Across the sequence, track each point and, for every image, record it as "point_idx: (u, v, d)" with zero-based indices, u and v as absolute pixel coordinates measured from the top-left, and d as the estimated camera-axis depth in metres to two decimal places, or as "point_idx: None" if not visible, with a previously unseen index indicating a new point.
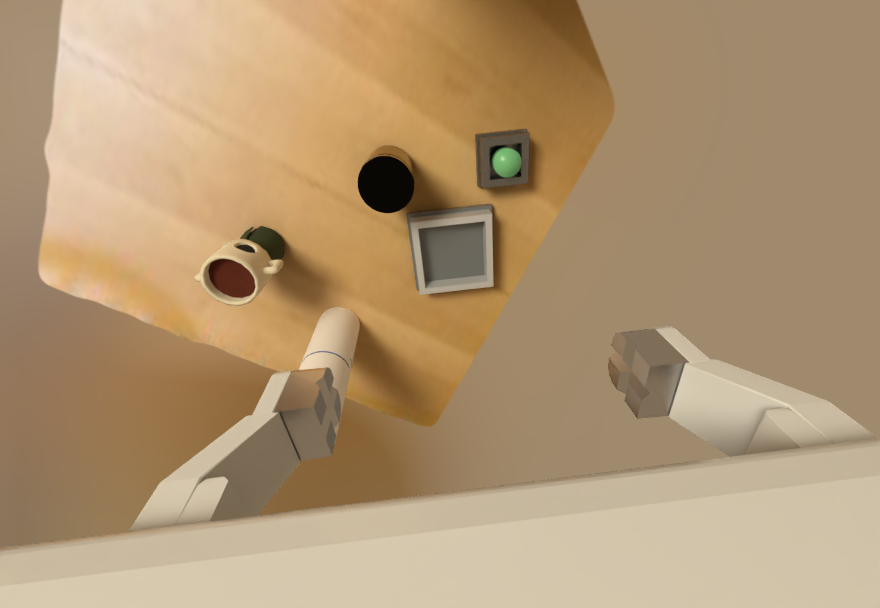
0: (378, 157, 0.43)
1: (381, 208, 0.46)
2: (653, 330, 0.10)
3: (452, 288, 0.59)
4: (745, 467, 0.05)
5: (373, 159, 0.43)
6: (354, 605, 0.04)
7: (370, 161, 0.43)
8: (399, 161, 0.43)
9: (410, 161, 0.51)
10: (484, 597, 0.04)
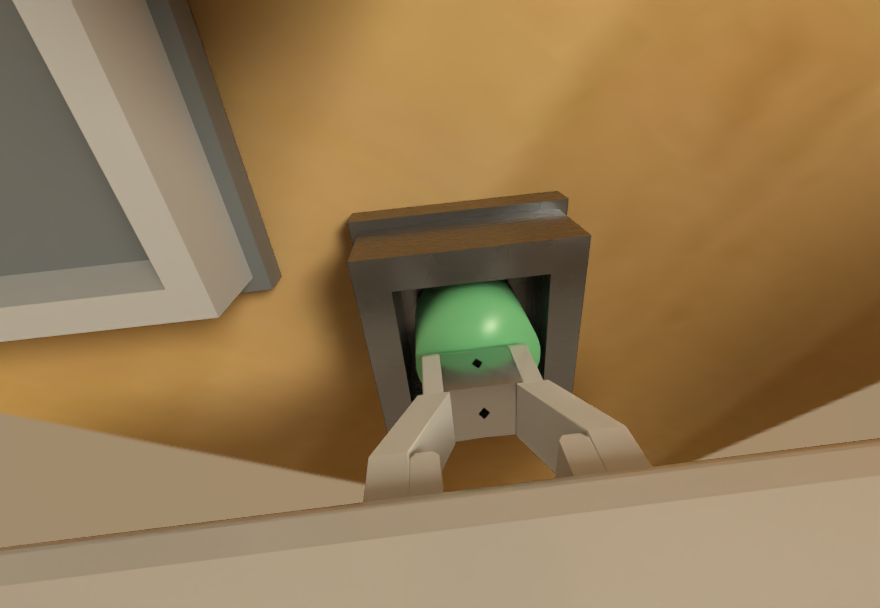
0: None
1: None
2: (505, 348, 0.10)
3: None
4: (745, 468, 0.05)
5: None
6: (354, 605, 0.04)
7: None
8: None
9: None
10: (484, 596, 0.04)
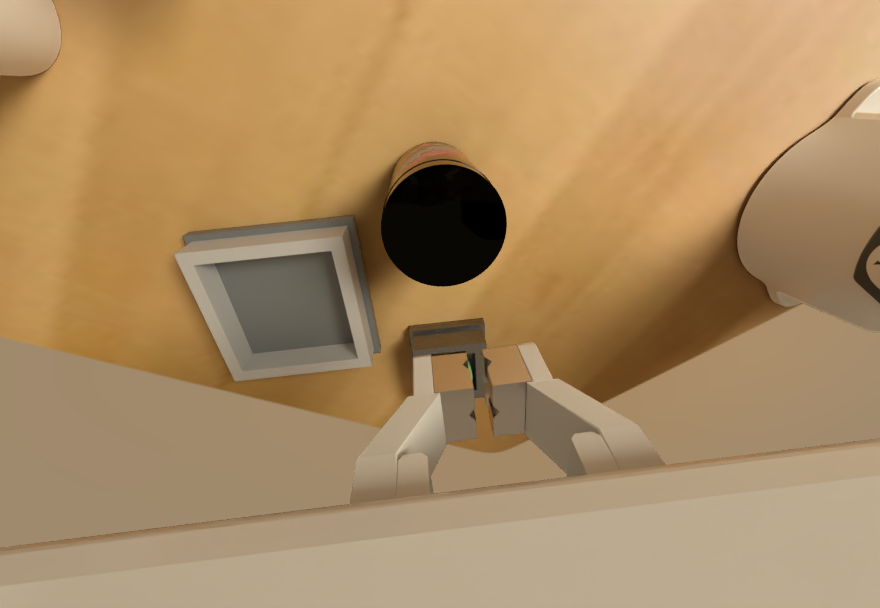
0: (503, 217, 0.20)
1: (391, 217, 0.19)
2: (514, 347, 0.10)
3: (210, 316, 0.29)
4: (745, 467, 0.05)
5: (501, 206, 0.19)
6: (354, 605, 0.04)
7: (497, 199, 0.19)
8: (491, 259, 0.21)
9: None
10: (484, 596, 0.04)
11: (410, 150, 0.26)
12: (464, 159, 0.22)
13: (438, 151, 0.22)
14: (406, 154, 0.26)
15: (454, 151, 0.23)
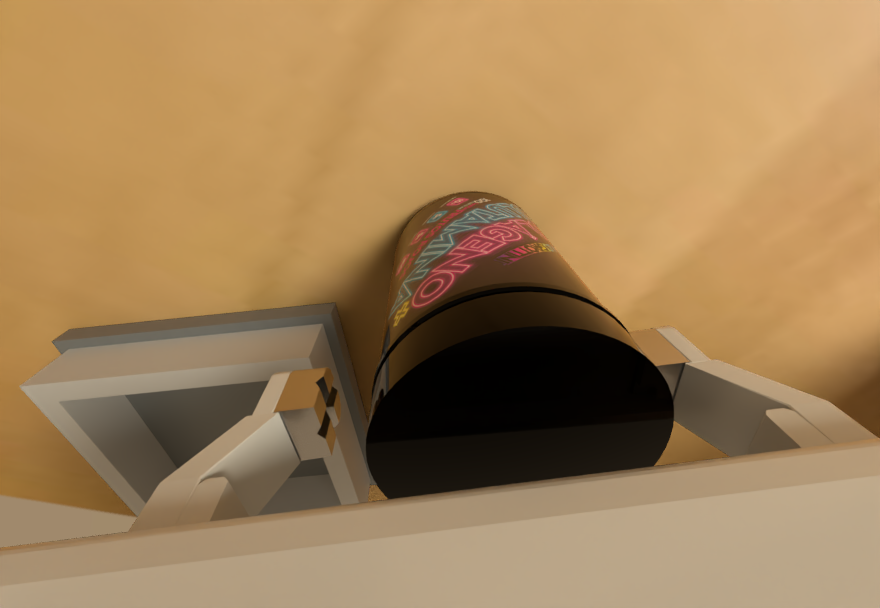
0: (667, 425, 0.08)
1: (391, 432, 0.08)
2: (653, 330, 0.10)
3: (102, 467, 0.18)
4: (745, 467, 0.05)
5: (666, 406, 0.08)
6: (354, 605, 0.04)
7: (661, 393, 0.07)
8: None
9: None
10: (484, 597, 0.04)
11: (430, 208, 0.14)
12: (550, 254, 0.10)
13: (492, 233, 0.11)
14: (423, 217, 0.14)
15: (519, 223, 0.12)
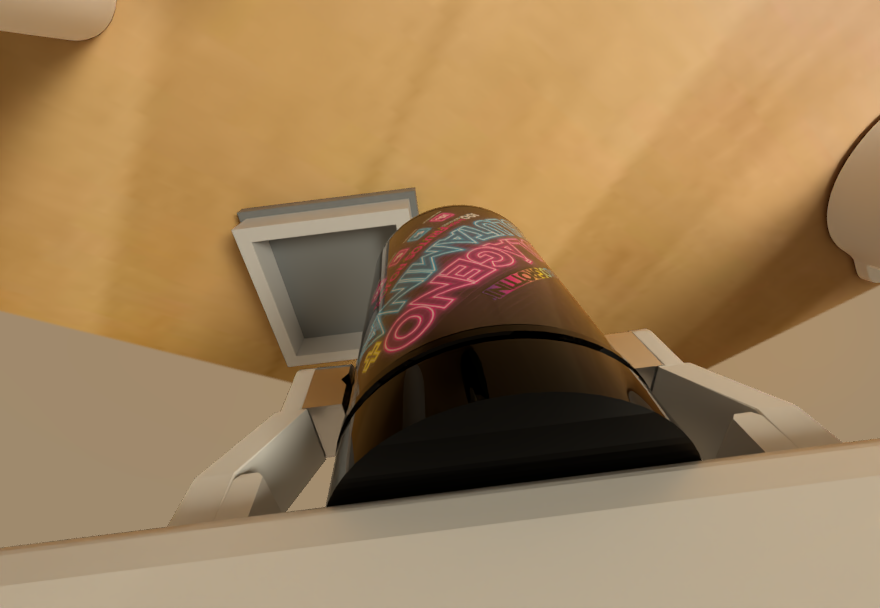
0: None
1: None
2: (630, 333, 0.10)
3: (266, 297, 0.27)
4: (745, 467, 0.05)
5: None
6: (354, 605, 0.04)
7: None
8: None
9: None
10: (485, 597, 0.04)
11: (412, 224, 0.13)
12: (548, 282, 0.09)
13: (481, 257, 0.09)
14: (404, 235, 0.12)
15: (511, 243, 0.10)
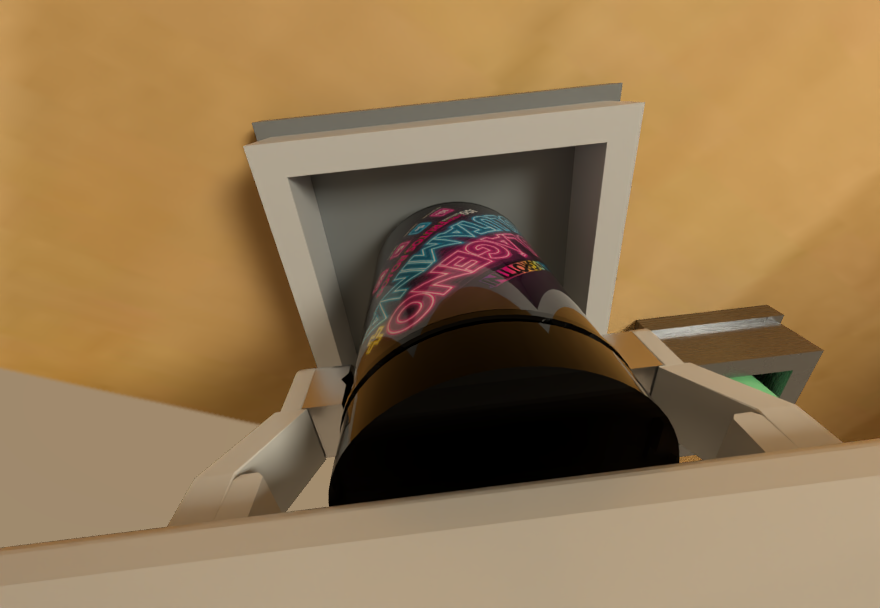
0: None
1: (358, 483, 0.07)
2: (630, 333, 0.10)
3: (308, 300, 0.14)
4: (745, 467, 0.05)
5: (671, 452, 0.07)
6: (354, 605, 0.04)
7: (666, 438, 0.07)
8: None
9: None
10: (484, 597, 0.04)
11: (412, 219, 0.13)
12: (541, 274, 0.09)
13: (478, 250, 0.10)
14: (405, 229, 0.13)
15: (507, 238, 0.11)
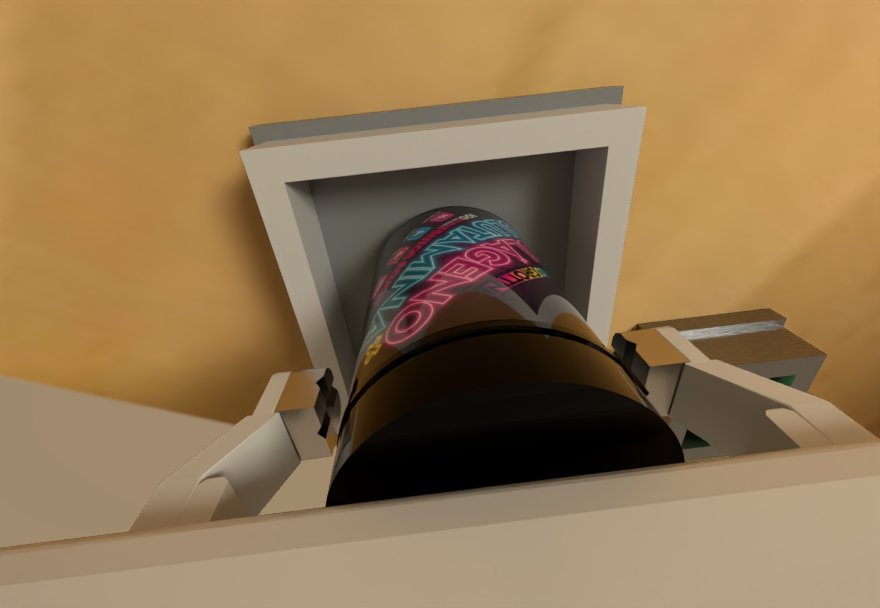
0: None
1: (355, 499, 0.06)
2: (653, 330, 0.10)
3: (306, 306, 0.13)
4: (745, 467, 0.05)
5: None
6: (354, 605, 0.04)
7: (672, 452, 0.06)
8: None
9: None
10: (485, 597, 0.04)
11: (412, 223, 0.13)
12: (542, 281, 0.09)
13: (478, 256, 0.09)
14: (404, 234, 0.13)
15: (508, 243, 0.11)
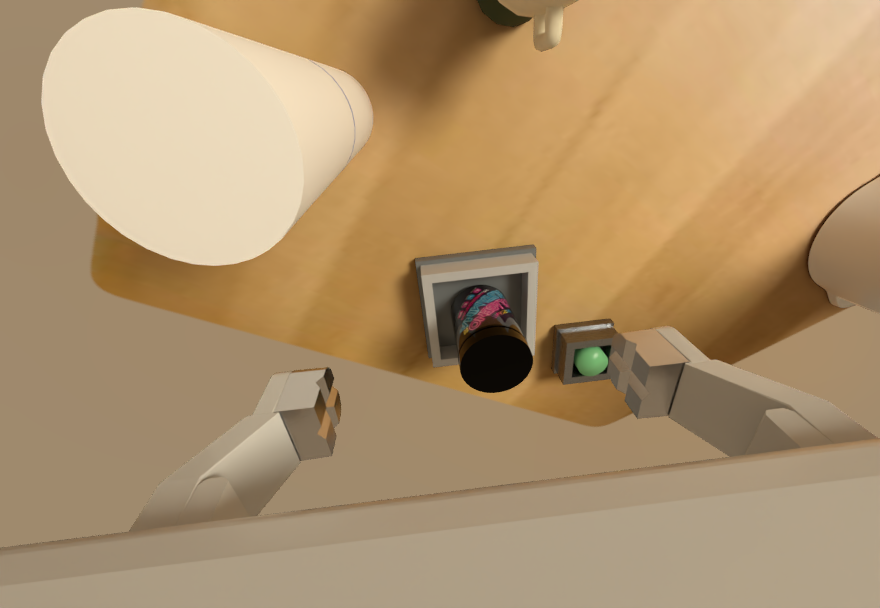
0: (531, 358, 0.34)
1: (467, 359, 0.33)
2: (653, 330, 0.10)
3: (431, 319, 0.40)
4: (745, 467, 0.05)
5: (530, 353, 0.33)
6: (354, 605, 0.04)
7: (528, 350, 0.33)
8: (522, 378, 0.35)
9: None
10: (485, 597, 0.04)
11: (466, 291, 0.40)
12: (506, 314, 0.36)
13: (490, 307, 0.36)
14: (464, 295, 0.39)
15: (498, 302, 0.37)
